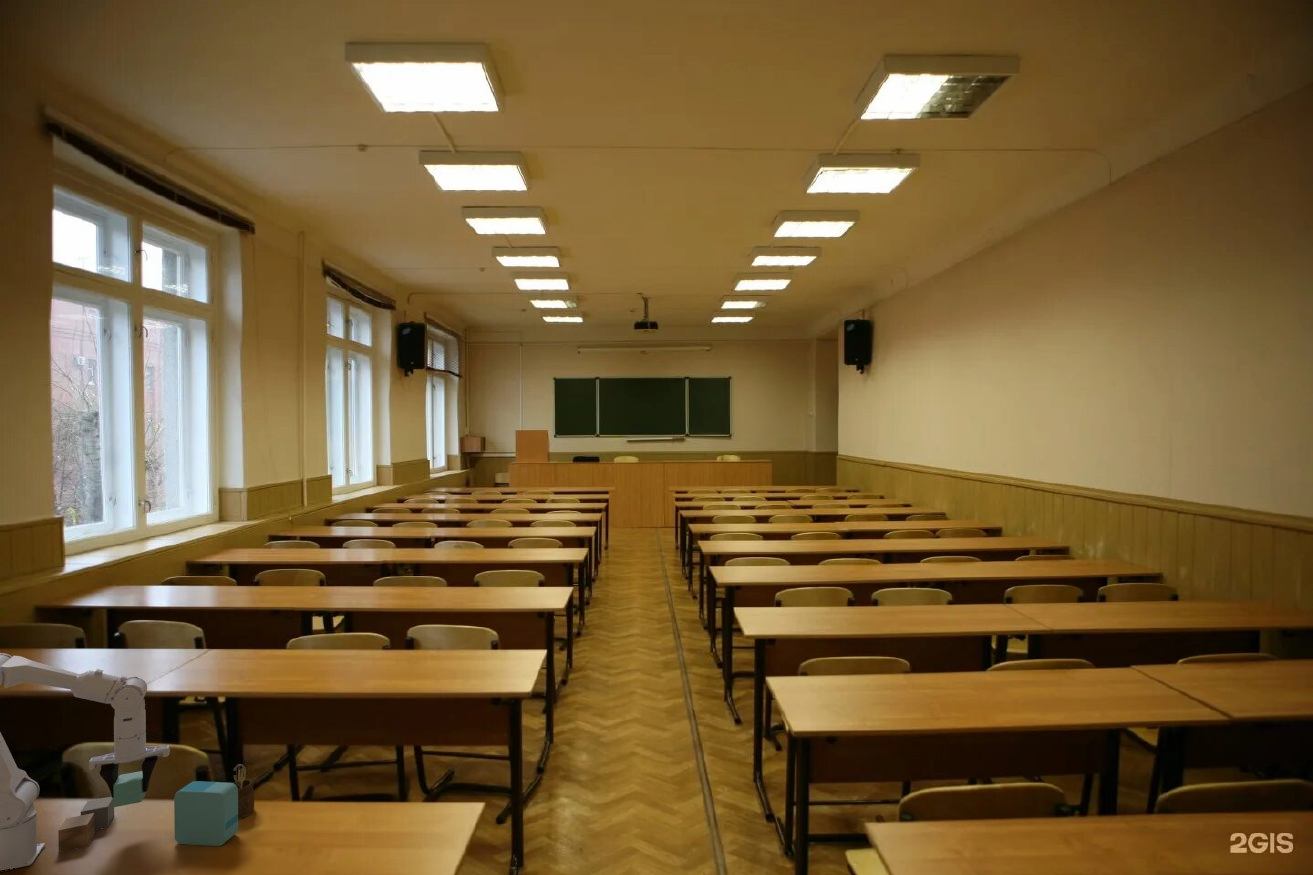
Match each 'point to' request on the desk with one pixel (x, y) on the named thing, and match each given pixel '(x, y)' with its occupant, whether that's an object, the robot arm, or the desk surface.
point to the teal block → (128, 789)
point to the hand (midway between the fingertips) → (130, 792)
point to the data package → (206, 813)
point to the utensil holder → (244, 794)
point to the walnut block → (76, 832)
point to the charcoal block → (100, 811)
